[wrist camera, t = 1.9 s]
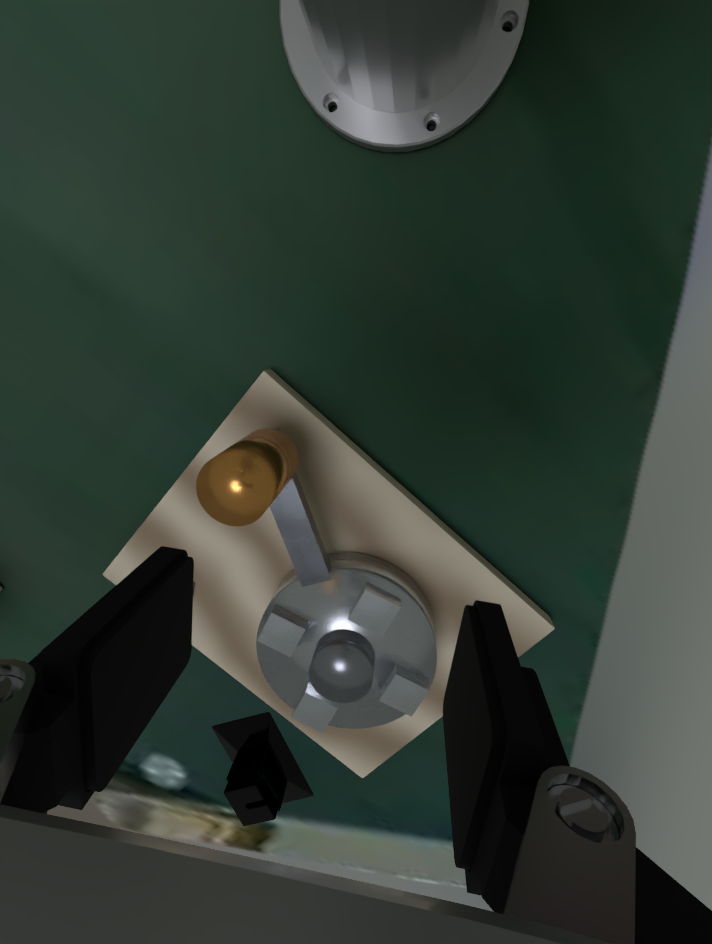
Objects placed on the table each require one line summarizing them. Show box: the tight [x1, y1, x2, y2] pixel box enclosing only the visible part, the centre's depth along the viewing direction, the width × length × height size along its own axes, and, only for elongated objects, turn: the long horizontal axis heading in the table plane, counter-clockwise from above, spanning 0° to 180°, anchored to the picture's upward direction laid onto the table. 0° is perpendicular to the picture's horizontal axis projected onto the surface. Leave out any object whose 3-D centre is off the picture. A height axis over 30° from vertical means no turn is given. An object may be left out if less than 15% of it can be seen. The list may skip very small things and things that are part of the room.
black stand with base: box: [212, 712, 313, 826], centre depth 40 cm, size 12×7×5 cm, turn 23°
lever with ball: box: [196, 427, 437, 733], centre depth 29 cm, size 22×12×9 cm, turn 19°
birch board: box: [102, 369, 555, 778], centre depth 35 cm, size 20×26×2 cm
